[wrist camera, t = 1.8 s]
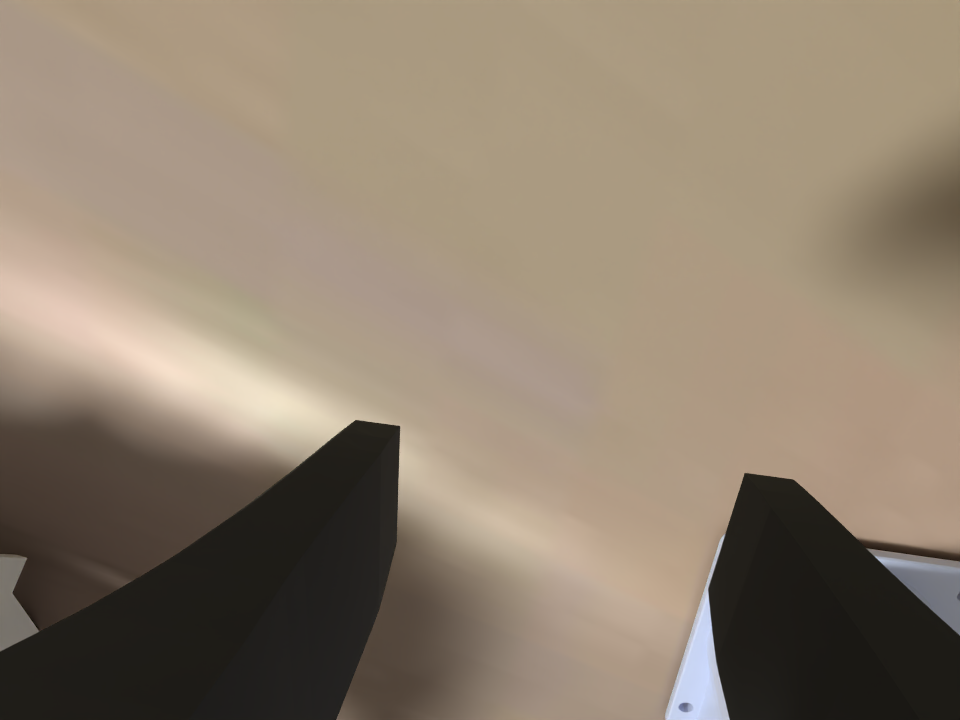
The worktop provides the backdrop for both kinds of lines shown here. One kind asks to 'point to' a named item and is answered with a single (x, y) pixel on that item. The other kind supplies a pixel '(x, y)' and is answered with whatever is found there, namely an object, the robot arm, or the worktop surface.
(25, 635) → the spiral staircase
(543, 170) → the worktop surface
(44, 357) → the worktop surface
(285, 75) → the worktop surface
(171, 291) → the worktop surface
